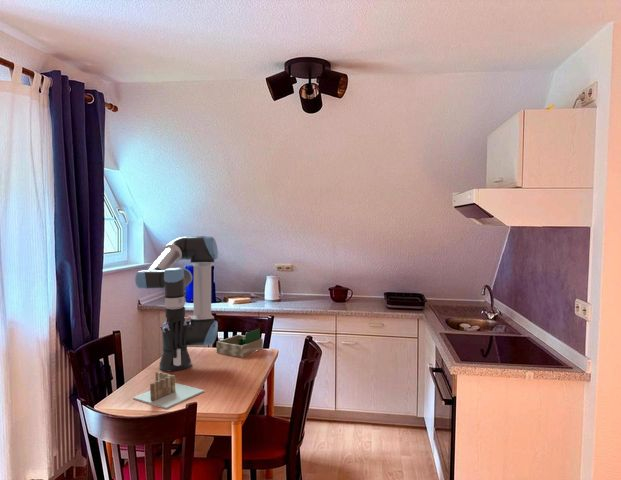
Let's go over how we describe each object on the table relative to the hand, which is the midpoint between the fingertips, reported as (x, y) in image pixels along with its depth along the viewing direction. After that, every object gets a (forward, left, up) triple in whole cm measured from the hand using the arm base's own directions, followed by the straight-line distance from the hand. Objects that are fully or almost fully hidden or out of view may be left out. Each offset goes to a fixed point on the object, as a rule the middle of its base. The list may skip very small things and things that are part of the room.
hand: (177, 364), depth 177 cm
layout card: (-7, +1, -14) cm, 16 cm away
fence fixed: (-11, +3, -14) cm, 18 cm away
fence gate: (-6, -3, -13) cm, 15 cm away
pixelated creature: (-21, +66, -15) cm, 71 cm away
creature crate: (-23, +64, -14) cm, 69 cm away
